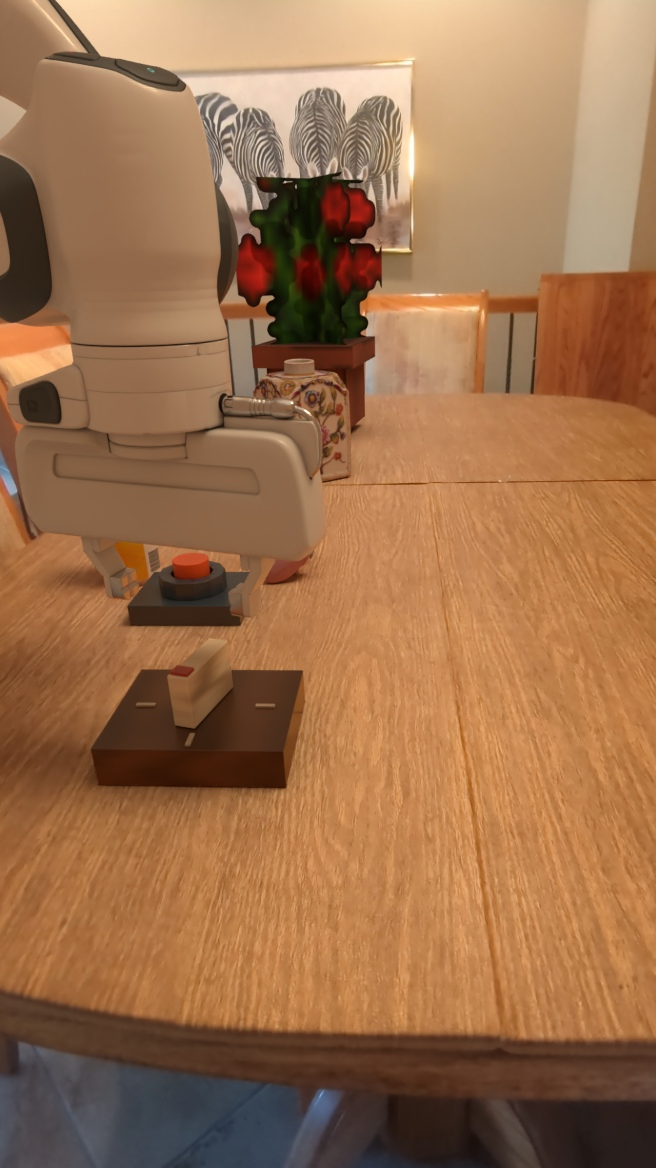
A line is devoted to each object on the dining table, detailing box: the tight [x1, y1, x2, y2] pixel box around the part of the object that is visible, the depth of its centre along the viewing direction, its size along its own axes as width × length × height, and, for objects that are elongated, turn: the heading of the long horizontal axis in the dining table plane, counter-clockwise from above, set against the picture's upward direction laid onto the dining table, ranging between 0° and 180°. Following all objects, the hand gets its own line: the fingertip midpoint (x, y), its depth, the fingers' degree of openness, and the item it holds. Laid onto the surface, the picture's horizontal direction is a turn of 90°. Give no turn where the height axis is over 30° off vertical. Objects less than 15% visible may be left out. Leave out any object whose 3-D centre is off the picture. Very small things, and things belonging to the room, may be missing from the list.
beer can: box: [114, 541, 163, 586], centre depth 82 cm, size 6×6×15 cm
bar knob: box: [167, 637, 233, 729], centre depth 54 cm, size 6×2×4 cm, turn 162°
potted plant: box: [235, 171, 383, 431], centre depth 146 cm, size 22×22×45 cm
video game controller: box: [265, 549, 316, 584], centre depth 86 cm, size 10×5×7 cm, turn 9°
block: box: [126, 560, 250, 627], centre depth 77 cm, size 11×9×4 cm
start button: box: [171, 552, 210, 579], centre depth 76 cm, size 4×4×2 cm
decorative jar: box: [252, 359, 352, 483], centre depth 121 cm, size 12×12×18 cm
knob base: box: [90, 668, 306, 789], centre depth 56 cm, size 13×11×3 cm
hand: (183, 604), depth 51 cm, fingers open, 8 cm apart
